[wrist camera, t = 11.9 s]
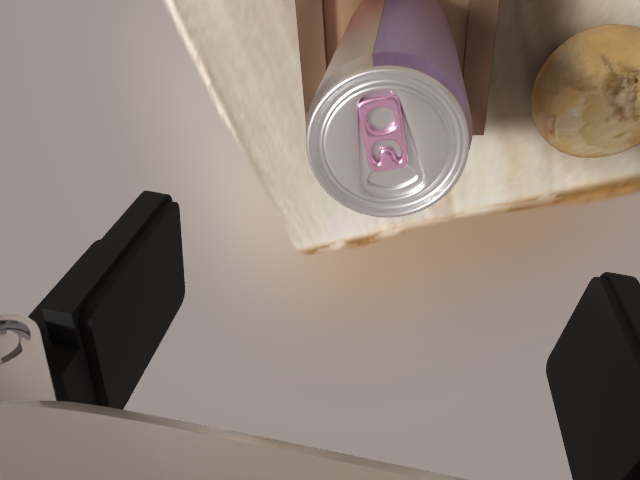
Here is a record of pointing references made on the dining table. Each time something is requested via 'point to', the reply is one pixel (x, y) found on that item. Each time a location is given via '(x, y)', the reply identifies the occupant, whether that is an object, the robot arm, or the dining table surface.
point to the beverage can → (391, 111)
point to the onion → (591, 93)
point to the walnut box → (467, 27)
